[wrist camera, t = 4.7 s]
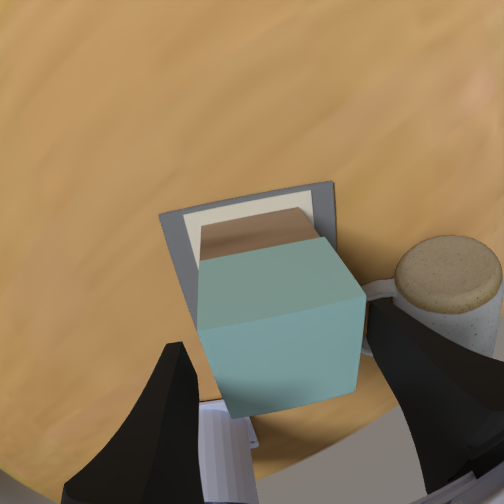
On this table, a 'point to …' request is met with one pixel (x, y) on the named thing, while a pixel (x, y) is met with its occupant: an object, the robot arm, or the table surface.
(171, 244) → the mat
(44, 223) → the table surface
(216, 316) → the teal block
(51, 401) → the table surface
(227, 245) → the walnut block
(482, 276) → the ceramic mug
